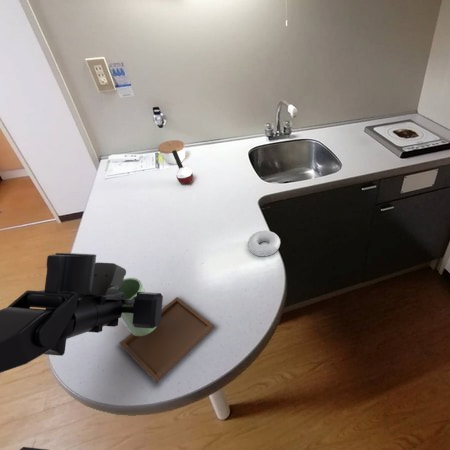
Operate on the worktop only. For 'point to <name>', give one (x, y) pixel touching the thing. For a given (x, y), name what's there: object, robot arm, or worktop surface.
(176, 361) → the serving tray
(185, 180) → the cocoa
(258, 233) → the donut
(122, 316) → the green cup
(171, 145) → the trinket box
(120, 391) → the worktop surface
